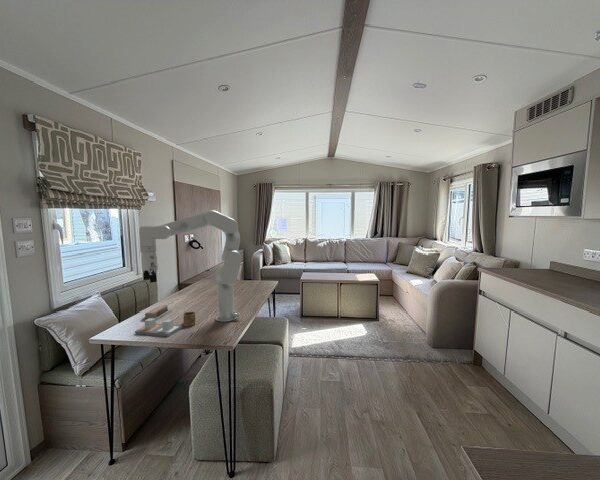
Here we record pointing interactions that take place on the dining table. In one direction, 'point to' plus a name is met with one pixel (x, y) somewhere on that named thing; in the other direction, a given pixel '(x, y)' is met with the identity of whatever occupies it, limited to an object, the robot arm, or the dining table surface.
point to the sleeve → (189, 318)
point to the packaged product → (157, 312)
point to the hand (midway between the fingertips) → (150, 280)
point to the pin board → (159, 328)
